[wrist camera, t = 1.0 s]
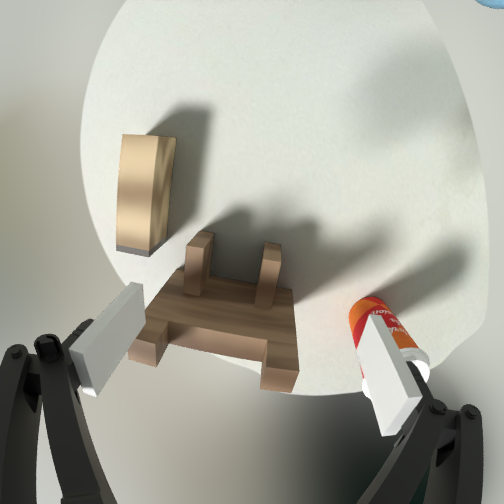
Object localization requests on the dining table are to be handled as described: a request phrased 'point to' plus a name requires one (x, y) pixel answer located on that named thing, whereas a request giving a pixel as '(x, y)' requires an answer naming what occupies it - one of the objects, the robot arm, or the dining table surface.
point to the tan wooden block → (143, 193)
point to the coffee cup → (400, 335)
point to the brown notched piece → (224, 316)
